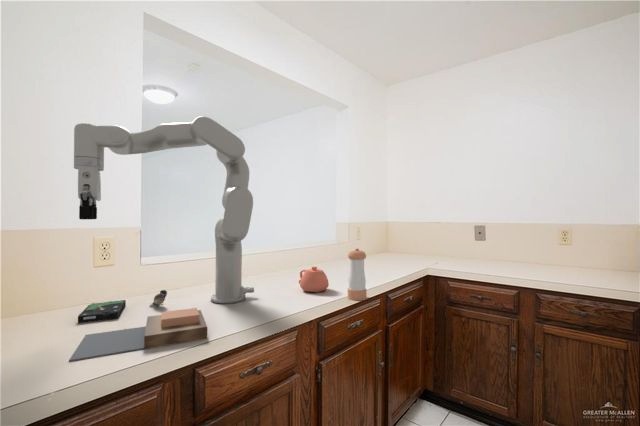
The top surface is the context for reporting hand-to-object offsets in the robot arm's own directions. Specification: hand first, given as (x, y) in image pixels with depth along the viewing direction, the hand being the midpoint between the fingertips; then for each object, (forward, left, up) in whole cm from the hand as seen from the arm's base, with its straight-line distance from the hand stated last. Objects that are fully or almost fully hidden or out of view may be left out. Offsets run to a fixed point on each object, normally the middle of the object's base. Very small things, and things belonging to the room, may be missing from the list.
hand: (88, 219), depth 95 cm
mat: (-10, +27, -30) cm, 42 cm away
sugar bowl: (-78, 0, -31) cm, 84 cm away
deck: (-24, +27, -30) cm, 47 cm away
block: (-25, +27, -27) cm, 46 cm away
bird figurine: (-20, -2, -31) cm, 37 cm away
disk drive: (-4, -1, -31) cm, 31 cm away
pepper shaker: (-88, +19, -31) cm, 95 cm away
